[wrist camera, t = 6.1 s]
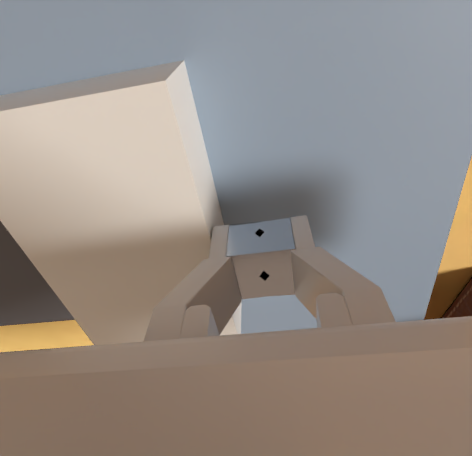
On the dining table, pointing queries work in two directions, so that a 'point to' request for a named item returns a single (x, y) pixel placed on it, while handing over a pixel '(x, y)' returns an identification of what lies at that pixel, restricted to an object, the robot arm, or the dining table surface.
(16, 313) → the mat
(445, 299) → the dining table surface
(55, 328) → the dining table surface
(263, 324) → the panel
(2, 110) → the tile
